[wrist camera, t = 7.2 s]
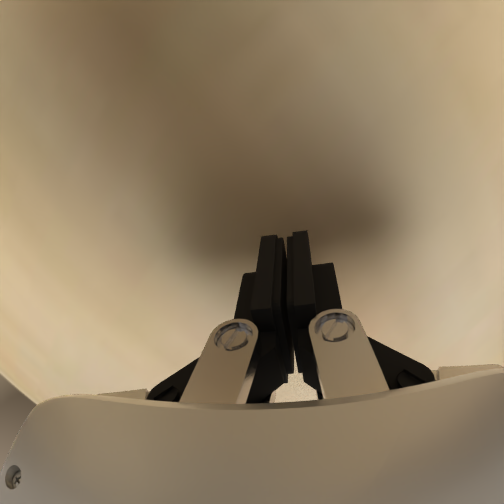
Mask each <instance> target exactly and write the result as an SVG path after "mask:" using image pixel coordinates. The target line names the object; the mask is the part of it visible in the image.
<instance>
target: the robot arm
mask: <svg viewBox="0 0 504 504" xmlns="http://www.w3.org/2000/svg"><path fill="white" fill-rule="evenodd" d="M294 351H295V356H296V362H297V367H298V373H303V379H304V382H305V383H307V384H308V385H309V386H311V387H312V388H314V389H315V390H316V396H317V400H311V401H299V402H283V403H274V402H275V398H276V391H275V390H276V389H277V388H279V387H280V386H281V385H282V384H283V383H288V374H292V373H294ZM0 504H504V367H502V366H500V365H496V364H488V365H472V366H450V367H439V368H438V370H430V369H429V368H428V367H426V366H425V365H423V364H421V363H419V362H417V361H415V360H413V359H411V358H409V357H407V356H405V355H403V354H401V353H399V352H397V351H395V350H393V349H391V348H389V347H387V346H385V345H383V344H381V343H379V342H378V341H376V340H374V339H372V338H370V337H368V336H367V335H366V333H365V331H364V329H363V326H362V324H361V322H360V320H359V319H358V317H357V316H356V315H355V314H353V313H352V312H350V311H347V310H344V309H342V305H341V300H340V294H339V289H338V284H337V279H336V275H335V270H334V265H333V263H326V264H318V265H312V262H311V254H310V247H309V239H308V232H307V230H306V231H299V232H293V236H291V237H287V257H286V251H285V246H284V240H283V238H278V237H277V235H269V236H262V237H261V243H260V249H259V256H258V262H257V269H256V272H252V273H244V274H243V278H242V282H241V287H240V292H239V297H238V301H237V306H236V311H235V316H234V319H232V320H229V321H225V322H223V323H222V324H220V325H218V326H217V327H216V328H215V329H214V330H213V331H212V333H211V334H210V336H209V338H208V341H207V343H206V345H205V347H204V349H203V351H202V354H201V356H200V357H199V358H197V359H196V360H194V361H193V362H191V363H190V364H188V365H187V366H185V367H184V368H182V369H181V370H179V371H178V372H176V373H175V374H173V375H171V376H170V377H168V378H167V379H165V380H164V381H162V382H161V383H159V384H158V385H156V386H155V387H154V388H153V389H152V390H151V391H149V392H148V390H147V389H139V390H131V391H123V392H114V393H104V394H98V395H89V394H74V395H63V396H59V397H54V398H51V399H48V400H45V401H43V402H41V403H39V404H38V405H37V406H36V407H35V408H34V409H33V410H32V411H31V413H30V414H29V416H28V417H27V419H26V420H25V422H24V424H23V425H22V427H21V429H20V431H19V432H18V434H17V436H16V438H15V440H14V442H13V445H12V447H11V449H10V451H9V453H8V455H7V458H6V460H5V462H4V465H3V468H2V470H1V473H0Z"/></svg>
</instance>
